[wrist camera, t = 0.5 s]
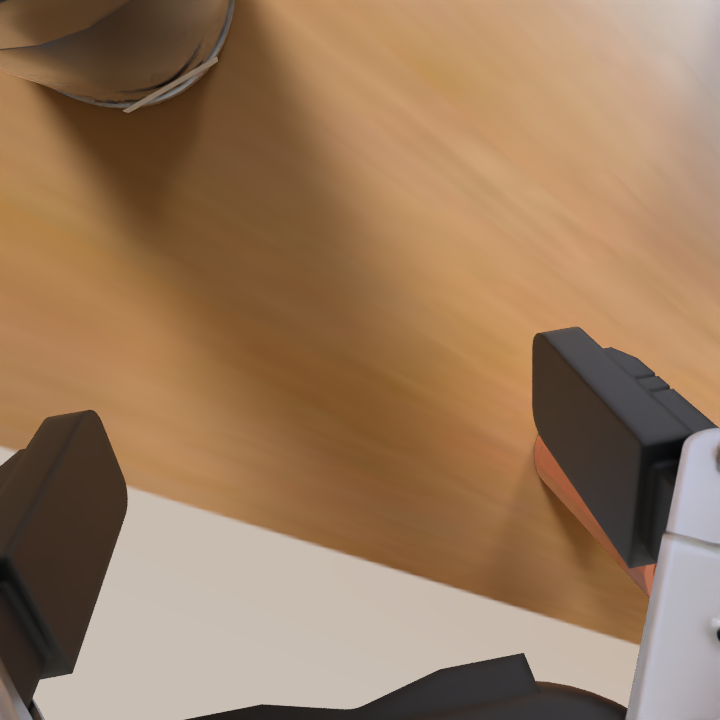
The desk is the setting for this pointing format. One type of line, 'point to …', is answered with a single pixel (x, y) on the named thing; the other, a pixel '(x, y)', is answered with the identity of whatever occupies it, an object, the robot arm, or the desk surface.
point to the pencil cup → (585, 512)
